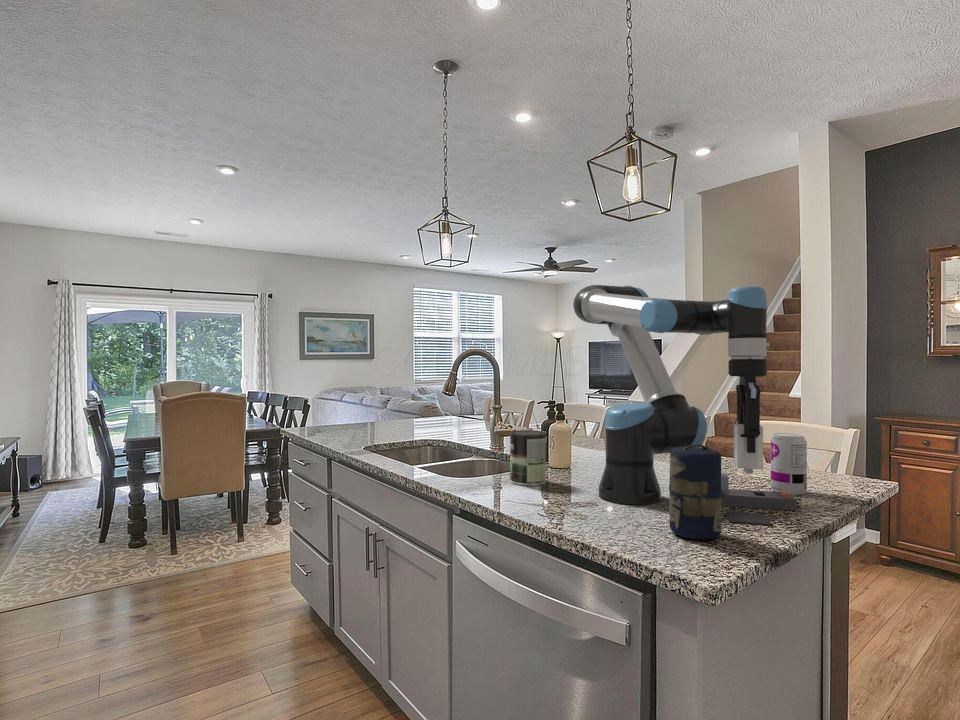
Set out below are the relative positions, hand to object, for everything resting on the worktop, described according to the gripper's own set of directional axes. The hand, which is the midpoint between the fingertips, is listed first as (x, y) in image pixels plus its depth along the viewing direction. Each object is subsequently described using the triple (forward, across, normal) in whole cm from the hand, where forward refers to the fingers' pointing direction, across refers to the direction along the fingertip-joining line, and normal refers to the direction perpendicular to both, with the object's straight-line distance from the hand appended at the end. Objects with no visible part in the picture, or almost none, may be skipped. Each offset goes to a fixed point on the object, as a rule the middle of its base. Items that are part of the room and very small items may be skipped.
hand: (747, 465), depth 117 cm
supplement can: (+12, +30, -15) cm, 36 cm away
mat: (+12, 0, 0) cm, 12 cm away
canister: (+12, -15, +12) cm, 23 cm away
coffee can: (+12, +22, +53) cm, 59 cm away
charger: (+2, 0, 0) cm, 2 cm away
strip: (+12, +12, +1) cm, 17 cm away
